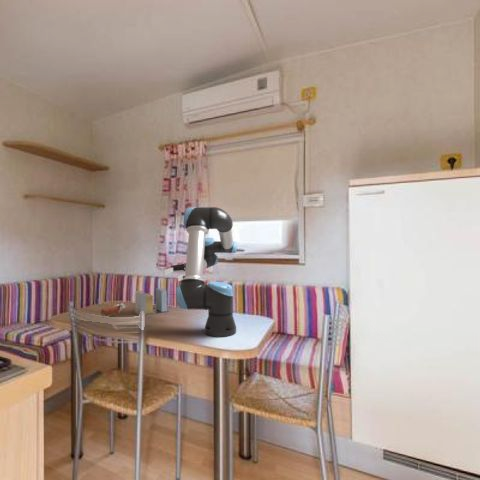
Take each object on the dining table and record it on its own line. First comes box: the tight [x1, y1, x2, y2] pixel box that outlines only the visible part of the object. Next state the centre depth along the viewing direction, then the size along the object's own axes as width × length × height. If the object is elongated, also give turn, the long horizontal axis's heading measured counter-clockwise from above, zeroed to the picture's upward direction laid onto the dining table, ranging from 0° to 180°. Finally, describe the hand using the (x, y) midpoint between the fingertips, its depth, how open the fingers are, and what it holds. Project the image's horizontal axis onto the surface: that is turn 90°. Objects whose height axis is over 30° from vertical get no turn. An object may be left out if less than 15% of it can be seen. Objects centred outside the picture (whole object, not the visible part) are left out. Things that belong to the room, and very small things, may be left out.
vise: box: [134, 290, 170, 316], centre depth 171 cm, size 17×11×13 cm, turn 125°
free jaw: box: [155, 287, 168, 313], centre depth 174 cm, size 3×10×12 cm, turn 35°
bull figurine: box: [100, 302, 126, 317], centre depth 159 cm, size 4×13×8 cm, turn 138°
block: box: [146, 293, 154, 315], centre depth 170 cm, size 4×8×10 cm, turn 35°
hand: (170, 275), depth 174 cm, fingers open, 13 cm apart
